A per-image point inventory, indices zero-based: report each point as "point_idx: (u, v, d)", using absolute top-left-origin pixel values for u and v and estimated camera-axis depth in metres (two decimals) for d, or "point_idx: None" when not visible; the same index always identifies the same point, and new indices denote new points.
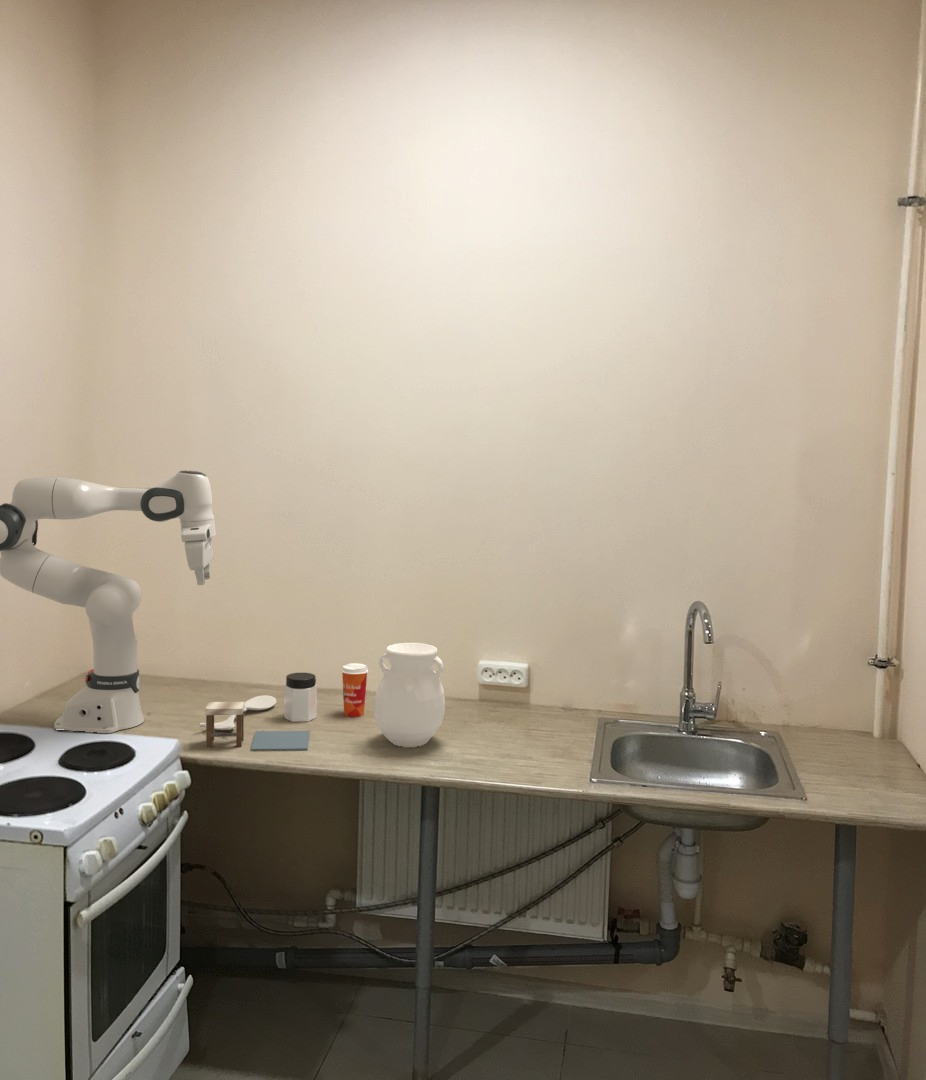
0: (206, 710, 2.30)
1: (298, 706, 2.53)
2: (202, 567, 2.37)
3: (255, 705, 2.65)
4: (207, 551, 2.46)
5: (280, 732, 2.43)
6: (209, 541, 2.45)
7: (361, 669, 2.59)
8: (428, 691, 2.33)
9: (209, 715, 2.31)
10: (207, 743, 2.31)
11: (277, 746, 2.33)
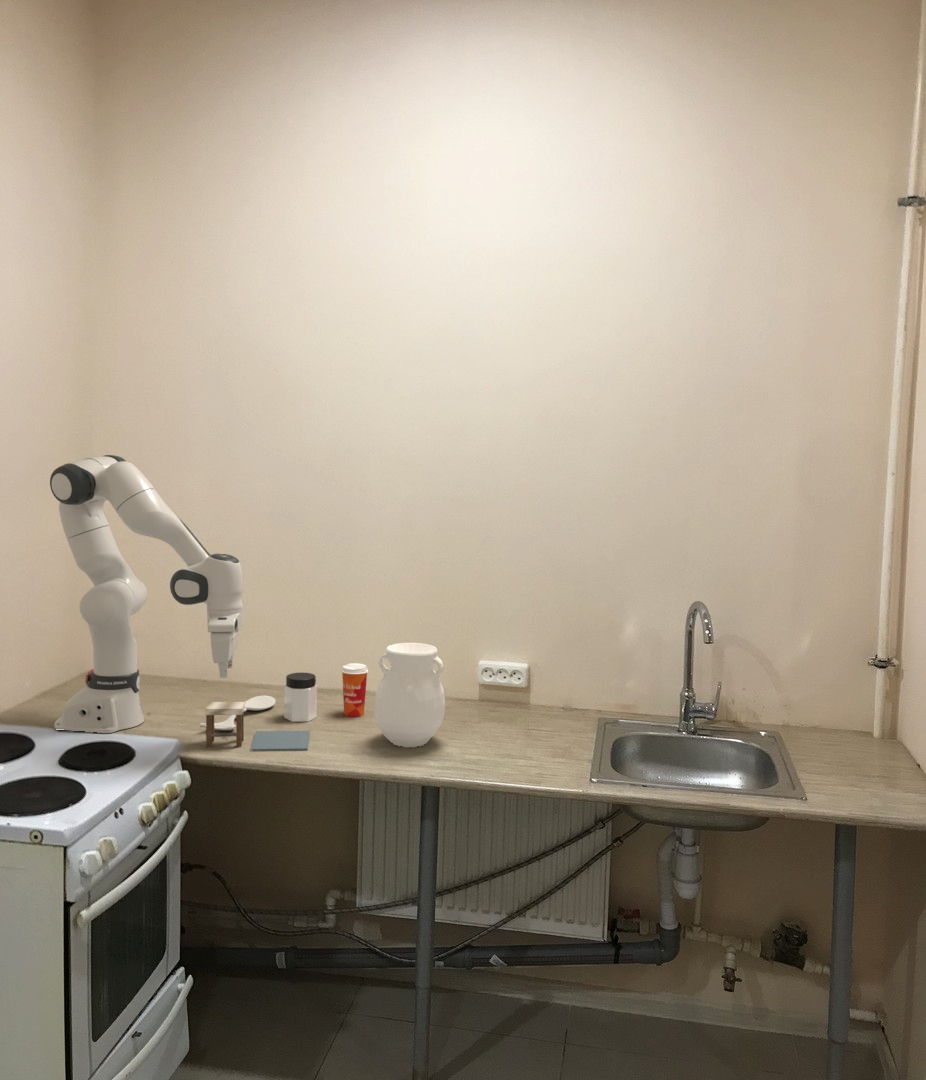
0: (206, 710, 2.30)
1: (298, 706, 2.53)
2: (227, 661, 2.23)
3: (254, 705, 2.65)
4: (232, 640, 2.32)
5: (280, 732, 2.43)
6: (236, 631, 2.30)
7: (361, 669, 2.59)
8: (428, 691, 2.33)
9: (209, 715, 2.31)
10: (207, 743, 2.31)
11: (277, 746, 2.33)
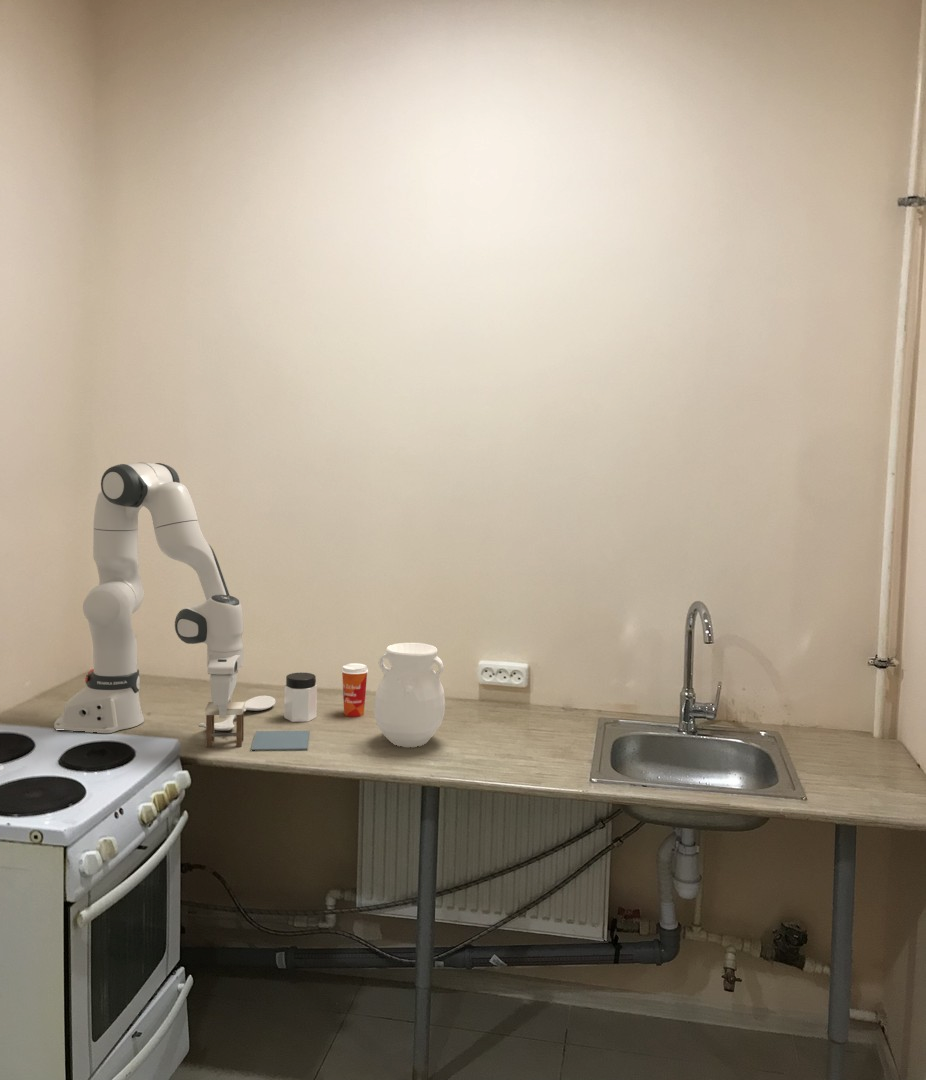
0: (206, 710, 2.30)
1: (298, 706, 2.53)
2: (226, 703, 2.24)
3: (254, 705, 2.65)
4: (232, 681, 2.33)
5: (280, 732, 2.43)
6: (235, 672, 2.32)
7: (361, 669, 2.59)
8: (428, 691, 2.33)
9: (209, 715, 2.31)
10: (207, 743, 2.31)
11: (277, 746, 2.33)
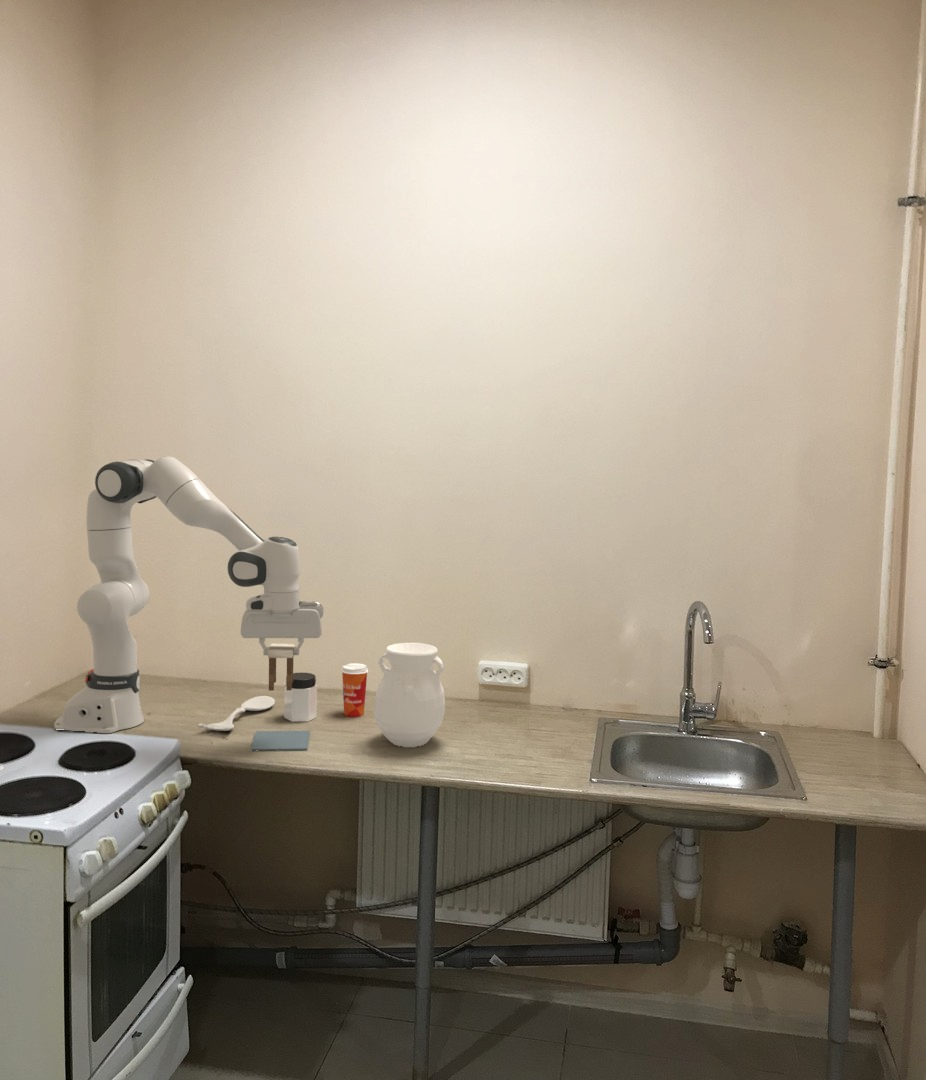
0: (270, 645, 2.38)
1: (298, 706, 2.53)
2: (242, 636, 2.31)
3: (253, 706, 2.65)
4: (280, 624, 2.31)
5: (280, 732, 2.43)
6: (275, 614, 2.30)
7: (361, 669, 2.59)
8: (428, 691, 2.33)
9: None
10: None
11: (277, 746, 2.33)
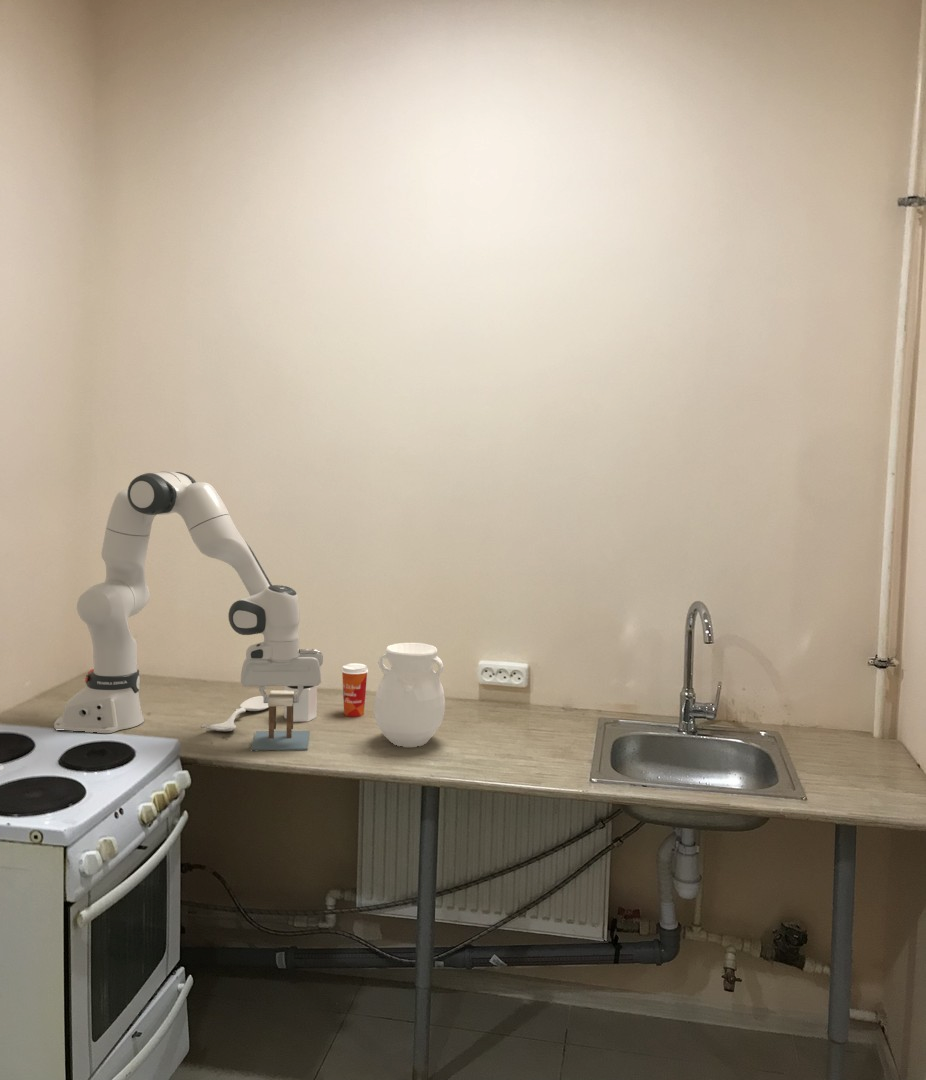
0: (270, 692, 2.39)
1: (298, 706, 2.53)
2: (242, 684, 2.32)
3: (252, 706, 2.65)
4: (280, 673, 2.33)
5: (280, 732, 2.43)
6: (275, 663, 2.31)
7: (361, 669, 2.59)
8: (427, 691, 2.33)
9: None
10: None
11: (277, 746, 2.33)
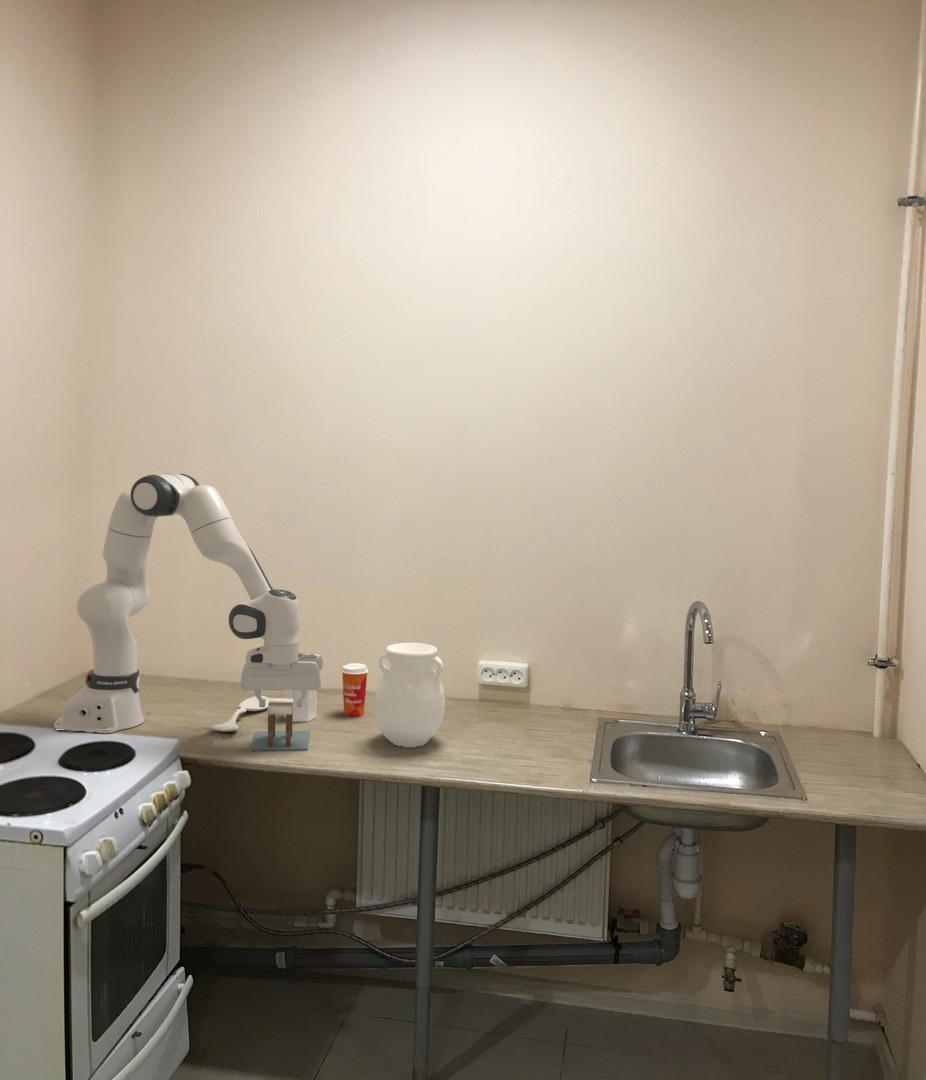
0: (270, 699, 2.39)
1: None
2: (242, 688, 2.32)
3: (251, 706, 2.64)
4: (280, 677, 2.33)
5: (280, 732, 2.43)
6: (274, 667, 2.31)
7: (361, 669, 2.59)
8: (427, 691, 2.33)
9: None
10: None
11: (277, 746, 2.33)
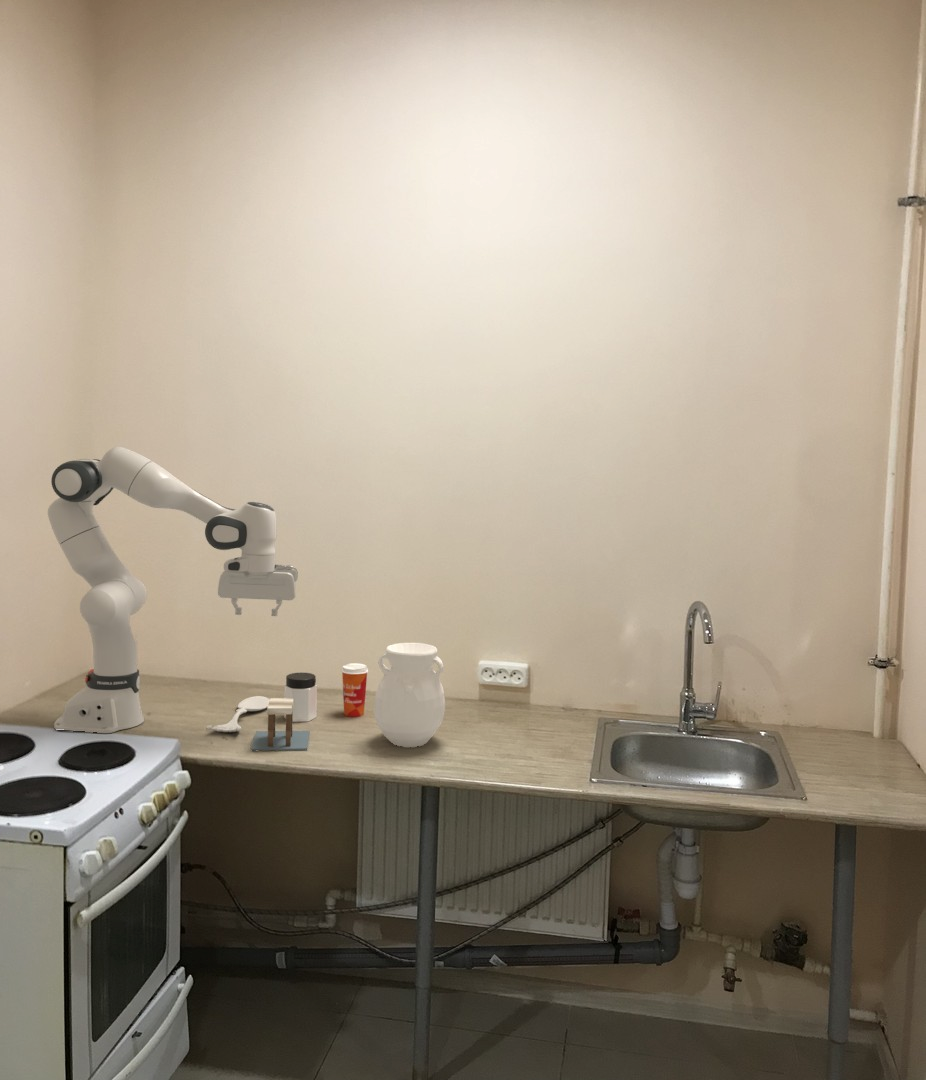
0: (270, 699, 2.39)
1: (298, 706, 2.53)
2: (219, 595, 2.42)
3: (250, 706, 2.64)
4: (255, 586, 2.42)
5: (280, 732, 2.43)
6: (251, 576, 2.41)
7: (361, 669, 2.59)
8: (427, 691, 2.33)
9: None
10: None
11: (277, 746, 2.33)
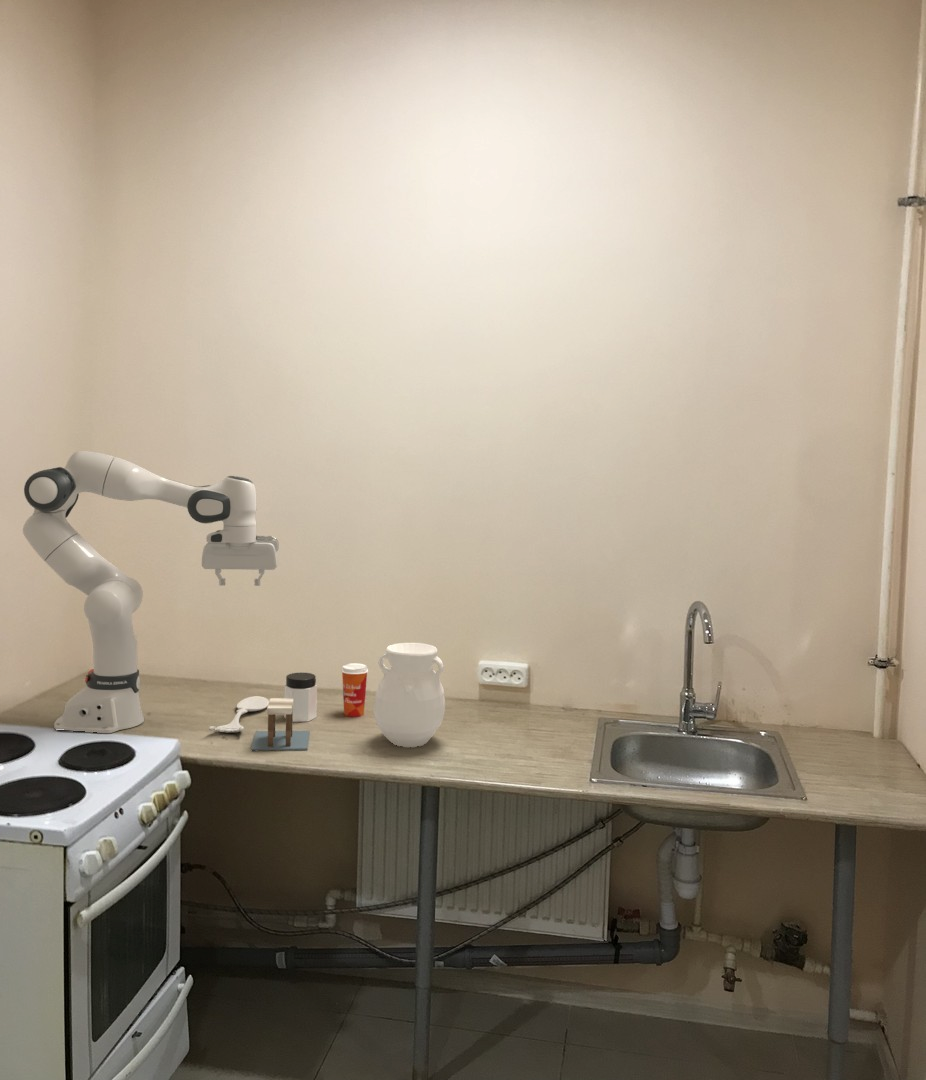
0: (270, 699, 2.39)
1: (298, 706, 2.53)
2: (203, 567, 2.50)
3: (249, 706, 2.64)
4: (238, 556, 2.51)
5: (280, 732, 2.43)
6: (233, 547, 2.49)
7: (361, 669, 2.59)
8: (428, 691, 2.33)
9: None
10: None
11: (277, 746, 2.33)
